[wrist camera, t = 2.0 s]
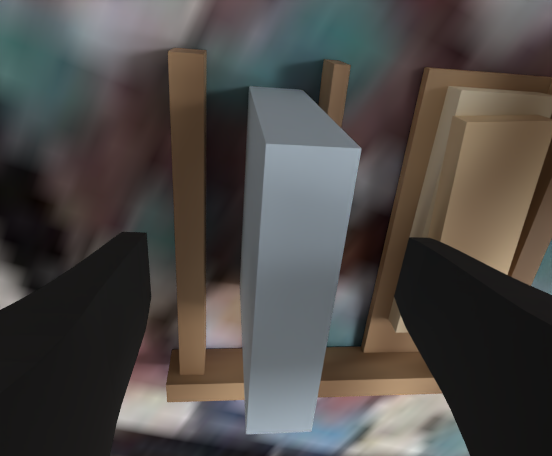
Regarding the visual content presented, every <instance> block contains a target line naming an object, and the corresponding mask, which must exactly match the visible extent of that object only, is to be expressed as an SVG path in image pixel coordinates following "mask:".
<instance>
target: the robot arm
mask: <svg viewBox="0 0 552 456" xmlns="http://www.w3.org/2000/svg"><path fill="white" fill-rule="evenodd" d="M394 298H395V301H396V304H397V306H398V309H399V312H400V315H401V317H402V320H403V322H404V325H405V327H406V329H407V331H408V333H409V334H410V336H411V338H412V340H413V342H414V344H415V345H416V347H417V349H418V351H419V353H420V354H421V356H422V358H423V360H424V361H425V363H426V365H427V367H428V368H429V370H430V372H431V374H432V376H433V377H434V379H435V381H436V383H437V384H438V386H439V388H440V390H441V392H442V393H443V395H444V397H445V399H446V401H447V403H448V405H449V407H450V409H451V411H452V414H453V416H454V418H455V421H456V423H457V425H458V428H459V430H460V432H461V434H462V437H463V439H464V441H465V444H466V446H467V449H468V451H469V454H470V456H552V295H550V294H548V293H545V292H543V291H541V290H539V289H536V288H534V287H532V286H530V285H528V284H525V283H523V282H521V281H519V280H517V279H515V278H513V277H511V276H508V275H506V274H504V273H502V272H500V271H498V270H496V269H494V268H492V267H490V266H488V265H486V264H484V263H483V262H481V261H479V260H477V259H475V258H473V257H471V256H469V255H467V254H465V253H463V252H461V251H459V250H457V249H455V248H453V247H451V246H449V245H447V244H444V243H442V242H440V241H437V240H435V239H432V238H421V237H409V240H408V243H407V247H406V251H405V255H404V259H403V263H402V267H401V271H400V275H399V279H398V283H397V286H396V290H395V294H394ZM150 301H151V287H150V273H149V259H148V245H147V233H142V232H122V233H120V234H119V235H117V236H116V237H114V238H113V239H111V240H110V241H109V242H107V243H106V244H105V245H103V246H102V247H101V248H99V249H98V250H97V251H95V252H94V253H93V254H91V255H90V256H88V257H87V258H86V259H84V260H83V261H81V262H80V263H79V264H77V265H76V266H74V267H73V268H71V269H70V270H68V271H67V272H65V273H64V274H62V275H60V276H59V277H57V278H56V279H54V280H53V281H51V282H50V283H48V284H47V285H45V286H43V287H42V288H40V289H38V290H37V291H35V292H33V293H31V294H30V295H28V296H26V297H24V298H22V299H21V300H19V301H17V302H15V303H13V304H11V305H9V306H7V307H5V308H3V309H1V310H0V456H110V452H111V447H112V442H113V438H114V433H115V428H116V423H117V420H118V416H119V412H120V409H121V405H122V402H123V399H124V396H125V392H126V389H127V386H128V383H129V380H130V377H131V374H132V371H133V368H134V365H135V361H136V358H137V355H138V352H139V349H140V346H141V343H142V339H143V336H144V333H145V330H146V324H147V319H148V314H149V307H150Z"/></svg>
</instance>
